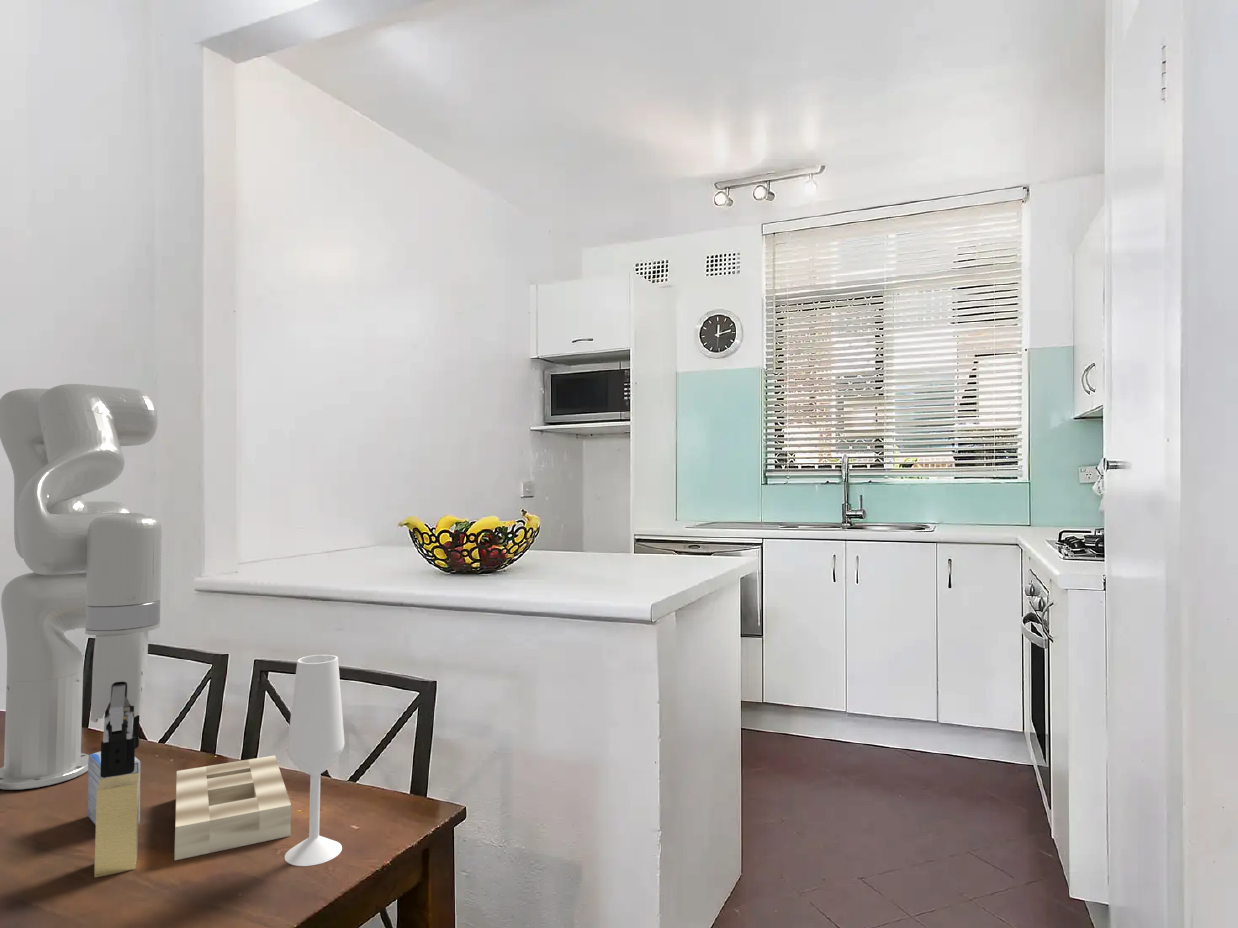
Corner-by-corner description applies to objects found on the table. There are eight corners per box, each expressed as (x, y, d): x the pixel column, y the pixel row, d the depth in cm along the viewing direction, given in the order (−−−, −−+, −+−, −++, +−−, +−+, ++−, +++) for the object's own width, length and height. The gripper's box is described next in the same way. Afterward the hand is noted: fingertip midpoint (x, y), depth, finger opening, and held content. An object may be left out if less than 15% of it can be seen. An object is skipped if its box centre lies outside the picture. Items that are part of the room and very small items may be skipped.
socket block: (175, 798, 108) (176, 770, 108) (274, 781, 114) (274, 755, 114) (174, 860, 90) (175, 827, 90) (290, 835, 97) (291, 804, 97)
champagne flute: (272, 862, 90) (276, 663, 91) (307, 836, 97) (311, 651, 97) (320, 869, 89) (325, 667, 89) (353, 842, 95) (357, 654, 96)
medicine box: (140, 824, 100) (142, 759, 100) (100, 836, 96) (102, 768, 97) (124, 806, 105) (125, 744, 105) (86, 816, 102) (87, 753, 102)
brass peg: (97, 862, 90) (100, 778, 90) (137, 854, 92) (139, 772, 92) (94, 877, 86) (96, 790, 87) (135, 868, 88) (137, 784, 89)
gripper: (93, 610, 95) (90, 746, 95) (76, 632, 80) (72, 792, 80) (161, 606, 99) (159, 736, 98) (158, 625, 84) (155, 778, 83)
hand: (120, 761), depth 89 cm, fingers open, 9 cm apart
